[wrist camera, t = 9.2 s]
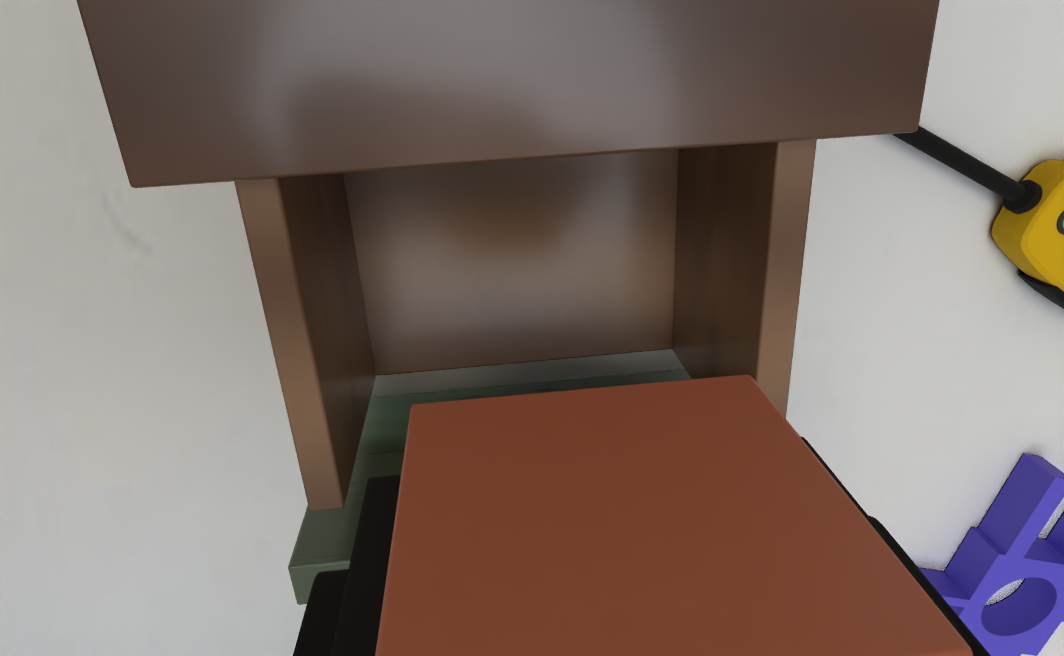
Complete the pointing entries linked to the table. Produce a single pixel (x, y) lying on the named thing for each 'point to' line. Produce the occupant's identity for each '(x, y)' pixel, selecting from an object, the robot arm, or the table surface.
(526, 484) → the block
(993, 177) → the yellow black long piece
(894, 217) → the table surface
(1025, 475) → the puzzle piece
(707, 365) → the drawer
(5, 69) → the table surface
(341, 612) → the robot arm
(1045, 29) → the table surface
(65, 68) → the table surface
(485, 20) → the cabinet
